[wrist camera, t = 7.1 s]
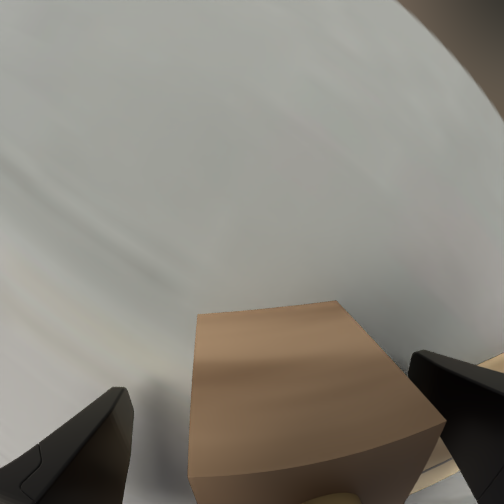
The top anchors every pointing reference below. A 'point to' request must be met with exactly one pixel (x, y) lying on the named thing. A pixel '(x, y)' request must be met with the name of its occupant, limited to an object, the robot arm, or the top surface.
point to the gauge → (302, 411)
